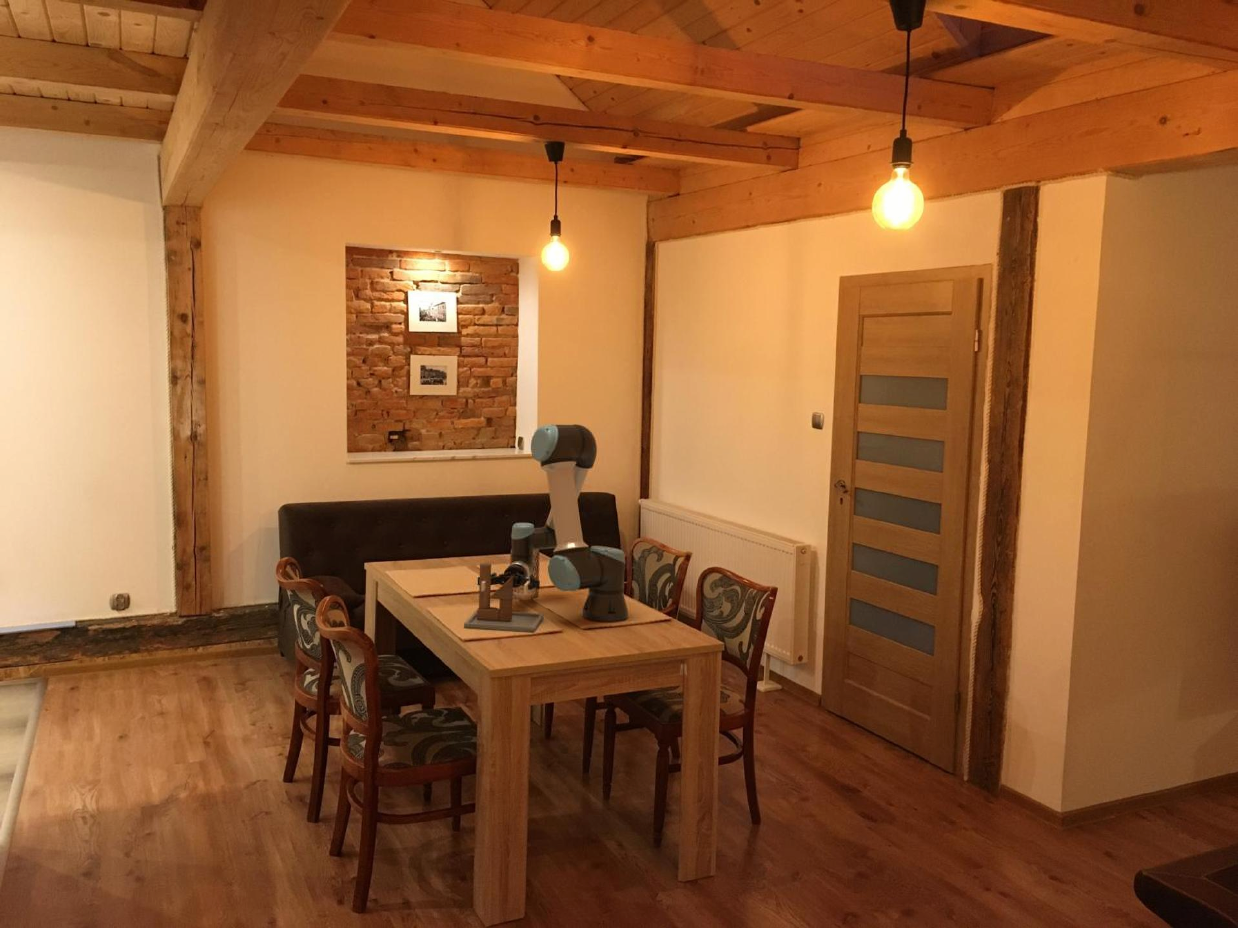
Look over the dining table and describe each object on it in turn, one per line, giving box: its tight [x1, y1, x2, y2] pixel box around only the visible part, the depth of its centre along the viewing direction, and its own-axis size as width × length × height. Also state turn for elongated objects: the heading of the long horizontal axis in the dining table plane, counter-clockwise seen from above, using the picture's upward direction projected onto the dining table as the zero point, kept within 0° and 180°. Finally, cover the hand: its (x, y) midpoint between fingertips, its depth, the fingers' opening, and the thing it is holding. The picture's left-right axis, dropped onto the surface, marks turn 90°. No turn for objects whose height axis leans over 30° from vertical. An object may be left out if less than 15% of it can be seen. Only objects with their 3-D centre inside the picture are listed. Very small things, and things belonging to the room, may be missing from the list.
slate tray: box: [463, 609, 544, 633], centre depth 338 cm, size 22×18×2 cm
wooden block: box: [476, 562, 514, 622], centre depth 338 cm, size 4×11×18 cm, turn 84°
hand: (503, 588), depth 333 cm, fingers open, 13 cm apart
